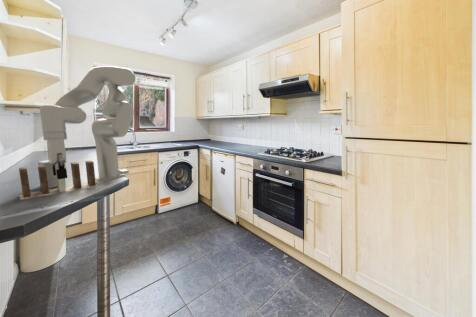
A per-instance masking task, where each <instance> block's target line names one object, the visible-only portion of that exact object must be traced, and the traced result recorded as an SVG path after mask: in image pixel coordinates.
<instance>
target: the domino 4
mask: <svg viewBox="0 0 476 317" xmlns="http://www.w3.org/2000/svg"><path fill="white" fill-rule="evenodd" d="M84 162H85V170H86V178H87V179H86V180H87V184H88V185H89V186H96V184H97V183H96V179H95V178H96V176H95V175H96V173H95V164H94V161H92V160H87V161H86V160H85V161H84Z"/></svg>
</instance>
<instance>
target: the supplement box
mask: <svg viewBox="0 0 476 317" xmlns="http://www.w3.org/2000/svg"><path fill="white" fill-rule="evenodd" d="M43 165H44V166H45V167H46V173H47V181H48V188H49V189H53V188H55V187H57V188H58V185H57V177H56V176H54V174H53V165H52V164H50V163H49V160H48V159H46V160H38V161H37V167H38V166H43ZM64 179H65V180H66V178H64ZM66 185H67V183H66V182H65V186H66Z"/></svg>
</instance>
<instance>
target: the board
mask: <svg viewBox="0 0 476 317" xmlns="http://www.w3.org/2000/svg"><path fill="white" fill-rule="evenodd" d="M65 187H66V191H61V192H60V191H59V190H58V187H57V188H50V189H49V194H44V195H43V194H42V192H41V190H39V191H34V192H33V191H32V192H30V194H31V197H26V198H24V197H23V193H22V194H21V193H20V194H19V195H18V196H19V199H20V201H21V200H27V199H28V200H29V199H34V198H37V197H38V198H39V197H44V196H49V195H56V194H60V193H62V194H63V193H68V192H72V191H78V190H83V189H90V188H94V187H95V188H97V187H100V184H97V183H96V186H89V185H88V183H84V184H83V183H81V187H82V188H79V189H76V188H74V186H73V185H70V186H65Z"/></svg>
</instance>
